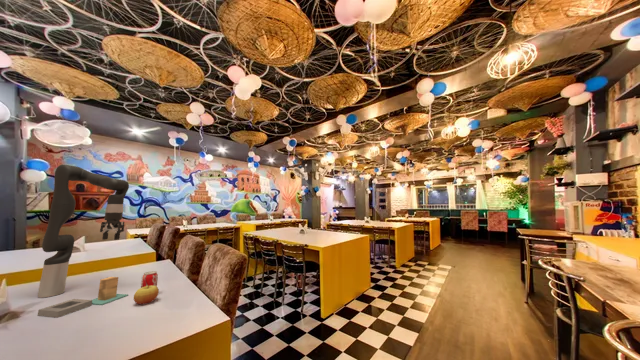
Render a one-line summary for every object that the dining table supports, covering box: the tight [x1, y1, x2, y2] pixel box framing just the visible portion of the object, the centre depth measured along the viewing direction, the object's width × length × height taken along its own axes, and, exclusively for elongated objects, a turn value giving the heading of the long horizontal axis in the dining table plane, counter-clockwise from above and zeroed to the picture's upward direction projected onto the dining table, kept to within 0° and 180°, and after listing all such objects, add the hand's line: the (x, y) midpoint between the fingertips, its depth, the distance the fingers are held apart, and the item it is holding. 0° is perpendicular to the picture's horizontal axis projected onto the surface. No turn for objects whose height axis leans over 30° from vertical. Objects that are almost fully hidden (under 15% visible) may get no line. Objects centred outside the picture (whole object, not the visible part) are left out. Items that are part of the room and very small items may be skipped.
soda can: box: [140, 270, 159, 288], centre depth 116 cm, size 7×7×12 cm
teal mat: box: [91, 293, 129, 306], centre depth 110 cm, size 12×12×1 cm
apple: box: [133, 285, 160, 305], centre depth 106 cm, size 10×10×8 cm
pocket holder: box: [37, 298, 93, 318], centre depth 99 cm, size 12×12×2 cm
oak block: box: [97, 276, 119, 301], centre depth 111 cm, size 5×5×10 cm
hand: (110, 239), depth 122 cm, fingers open, 8 cm apart
